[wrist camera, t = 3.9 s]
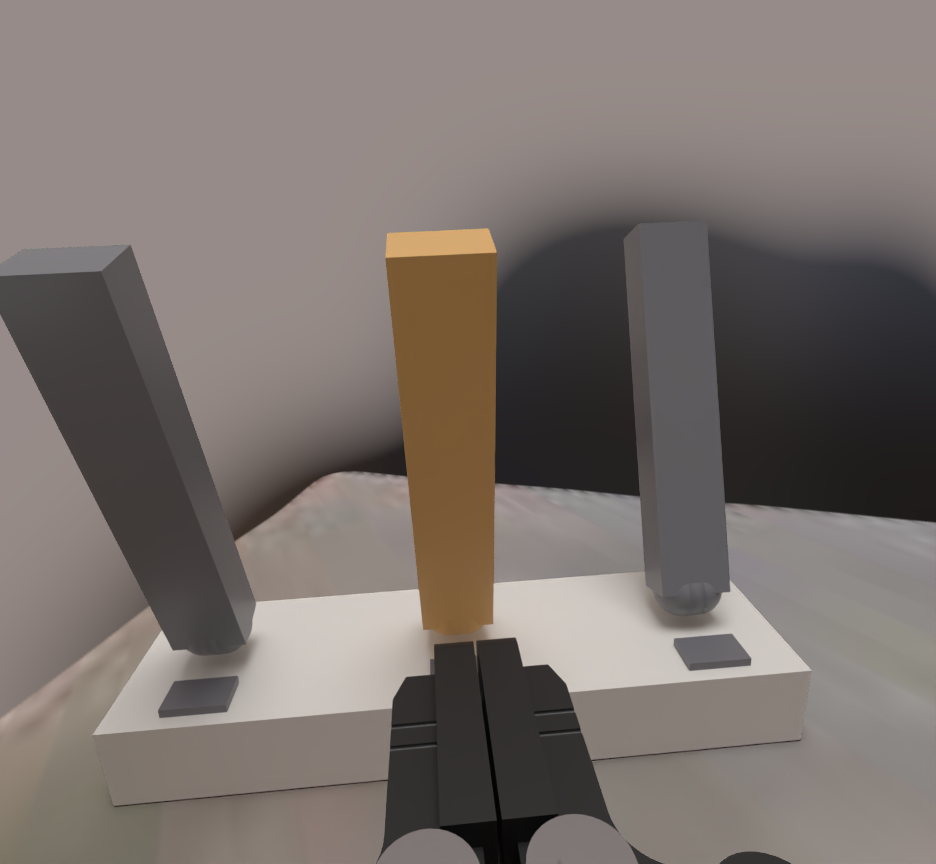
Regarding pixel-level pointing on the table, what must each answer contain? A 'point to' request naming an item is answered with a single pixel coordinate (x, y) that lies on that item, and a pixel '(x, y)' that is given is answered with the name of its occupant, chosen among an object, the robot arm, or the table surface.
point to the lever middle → (448, 415)
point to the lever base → (412, 654)
